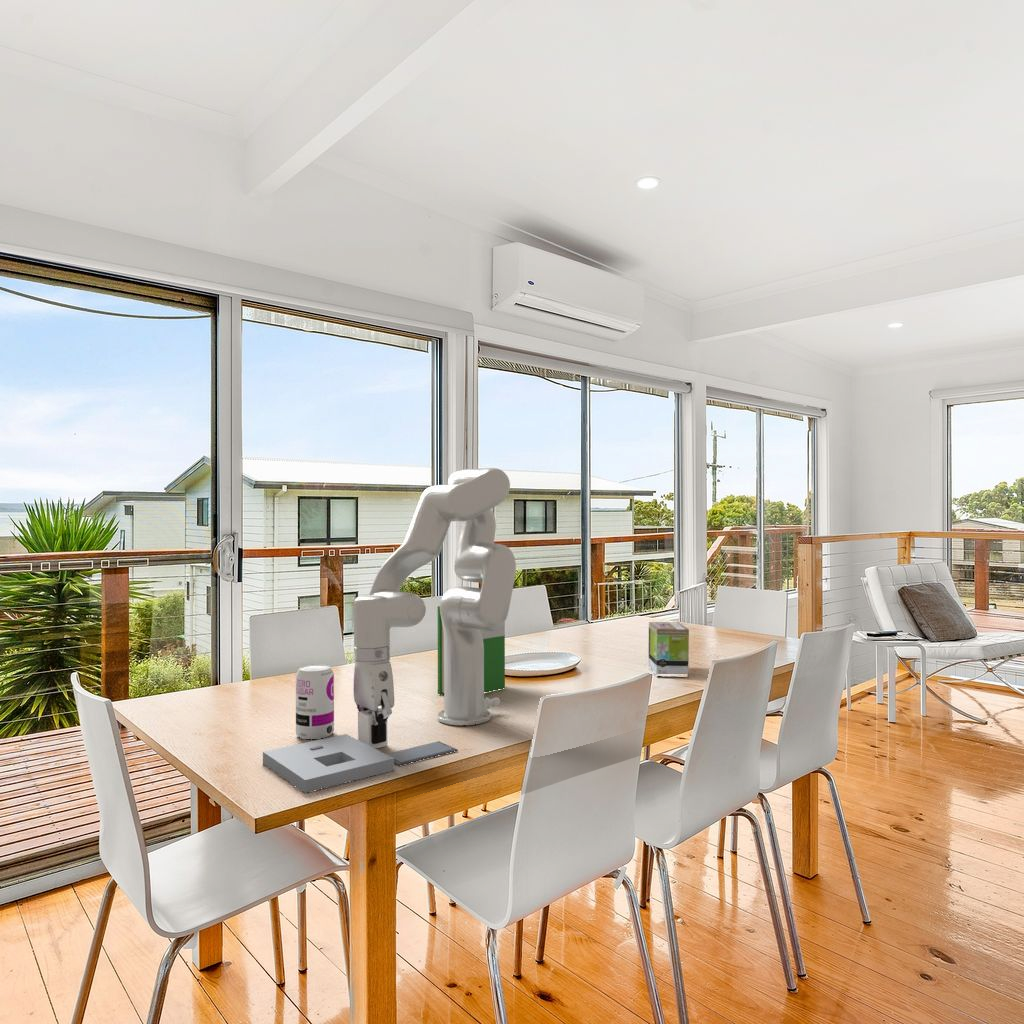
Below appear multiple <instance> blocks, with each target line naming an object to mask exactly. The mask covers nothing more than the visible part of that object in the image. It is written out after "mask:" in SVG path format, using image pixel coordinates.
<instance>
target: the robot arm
mask: <svg viewBox="0 0 1024 1024" xmlns="http://www.w3.org/2000/svg"><path fill="white" fill-rule="evenodd" d="M447 480H448V481H447V484H436V485H431V486H429V487H427V488H426V489H425V490H423V492H422V493H421V495H420V499H419V500H418V503H417V506H416V509H415V512H414V514H413V517H412V518H411V523H410V525H409V529H408V530H407V533H406V536H405V538H404V541H403V543H402V544H401V545H400V547H398V548H397V549H396V550H395V551H394V552H393V553H392V554H391V556H389V558H388V559H387V560H386V561H385V562H384V563H383V564H382V566H381V567H380V568H379V570H378V572H377V573H376V576H375V577H374V581H373V583H372V585H371V589H370V591H369V594H367V595H361V596H357V597H356V598H355V599H354V601H353V662H354V668H353V701H354V703H355V705H356V709H357V712H362V711H367V710H372V717H373V725H371V733H372V744H377V743H382V742H385V741H386V723H387V724H388V719H389V718H390V716H392V713H393V710H392V708H394V706H395V687H394V685H395V684H394V677H393V676H394V675H393V667H392V663H391V661H390V660H391V642H390V641H391V637H390V636H391V632H390V631H391V628H411V627H414V626H416V625H418V624H420V623H421V622H422V621H423V619H424V617H425V616H426V612H427V611H426V610H427V609H426V608H427V607H426V604H425V601H424V600H423V599H422V597H420V596H419V595H417V594H416V593H412V592H407V591H401V588H402V585H403V583H404V582H405V581H406V579H407V578H408V577H409V576H410V575H411V574H412V573H413V572H415V571H416V570H418V569H420V568H421V567H424V566H425V565H427V564H429V563H431V562H433V561H434V560H436V559H437V558H438V557H439V556H440V554H441V551H442V548H443V545H444V542H445V538H446V537H447V533H448V530H449V528H450V524H451V523H452V522H461V526H460V533H459V537H458V543H457V548H456V553H455V556H454V557H455V558H454V566H453V567H454V568H453V569H454V573H455V575H456V577H457V578H458V579H460V580H462V581H465V582H471V583H480V584H481V588H480V587H474V586H473V587H472V586H471V587H470V586H455V587H451V588H449V589H448V590H447V591H445V592H444V594H443V595H442V597H441V599H440V601H439V603H440V604H439V606H440V615H441V620H442V625H443V632H444V695H443V696H444V697H443V699H444V702H443V703H444V704H443V705H444V707H443V708H444V709H442V710H441V711H440V712H439V713H437V720H438V721H439V722H441V723H443V724H445V725H450V726H459V727H460V726H461V727H462V726H463V725H466V726H475V724H476V725H480V724H484V723H486V722H488V721H489V720H490V719H491V712H490V711H489V710H488V709H490V708H491V707H496V706H499V705H500V704H501V700H500V698H499V697H493V698H489V697H485V694H484V643H483V638H482V635H481V632H480V630H488V631H492V630H496V629H498V628H500V627H501V626H502V625H503V624H504V622H506V621H507V618H508V616H509V611H510V605H511V600H512V595H513V590H514V585H515V578H516V572H517V571H516V570H517V566H516V565H517V564H516V558H515V555H514V553H513V551H512V550H511V548H509V546H507V545H505V544H502V543H495V537H496V529H497V523H496V517H495V514H494V512H493V510H492V509H493V508H495V507H497V506H498V505H500V504H501V503H503V502H504V501H505V500H506V498H507V497H508V495H509V493H510V489H511V482H510V481H511V480H510V479H509V477H508V475H507V473H506V472H505V471H503V470H501V469H500V468H495V467H492V468H491V467H489V468H488V467H487V468H468V469H460V470H456V471H454V472H452V473H451V475H449V477H448V479H447ZM479 629H480V630H479ZM380 706H381V708H379V707H380ZM377 712H381V714H379V716H378V717H377Z"/></svg>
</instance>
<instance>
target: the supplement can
mask: <svg viewBox="0 0 1024 1024" xmlns="http://www.w3.org/2000/svg"><path fill="white" fill-rule="evenodd" d="M334 731H335V673H334V672H333V670H332V666H331V665H327V664H311V665H310V664H309V665H308V664H307V665H302V666H300V667H299V668H298V671H297V672H296V674H295V734H296V736H297V737H298V738H299V737H300V738H299V739H301V738H302V739H301V740H305V739H311V740H310V741H313V740H312V739H317V740H320V739H321V738H323V739H325V737H326V738H329V737H330V736H331V735H332V734H333V733H334Z"/></svg>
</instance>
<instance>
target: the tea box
mask: <svg viewBox="0 0 1024 1024" xmlns="http://www.w3.org/2000/svg"><path fill="white" fill-rule="evenodd" d="M689 645H690V629H689V628H688V627H686V626H685V625H683V624H682V623H680V622H678V621H677V622H676V621H649V622H648V659H647V660H648V667H649V666H650V667H651V669H652V670H653V671H654V672H655V673H656V675H657V674H688V675H689V651H690V646H689ZM651 669H650V670H651ZM652 670H651V671H652ZM656 675H655V676H656Z"/></svg>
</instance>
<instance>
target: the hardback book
mask: <svg viewBox="0 0 1024 1024" xmlns="http://www.w3.org/2000/svg"><path fill="white" fill-rule="evenodd" d="M505 622H506V621H505ZM505 622H504V624H503V625H502V626H501V627H500V628H498V629H496V630H492V631H488V630H480V629H479V630H480V632H481V635H482V638H483V643H484V692H489V691H493V690H498V689H503V688H505V689H506V685H505V684H506V670H505V669H506V653H505V652H506V645H505V644H506V639H505V637H506V635H505V634H506V631H505V630H506V629H505V628H506V626H505V624H506V623H505ZM438 694H444V632H443V625H442V620H441V615H440V605H439V606H437V695H438Z"/></svg>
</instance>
